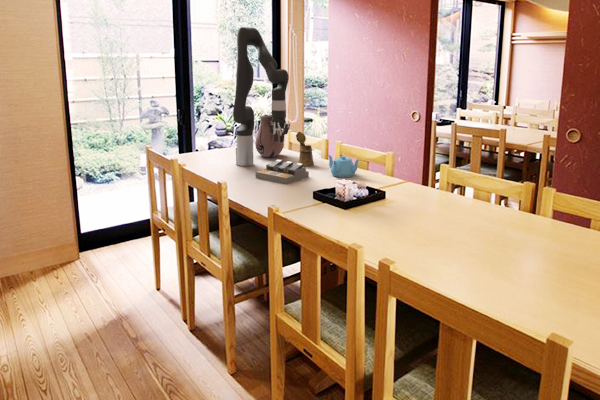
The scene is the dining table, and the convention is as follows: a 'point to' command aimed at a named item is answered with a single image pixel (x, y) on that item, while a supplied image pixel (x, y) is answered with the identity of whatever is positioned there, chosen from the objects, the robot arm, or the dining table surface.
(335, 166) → the teapot
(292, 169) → the rocker
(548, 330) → the dining table surface
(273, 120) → the robot arm
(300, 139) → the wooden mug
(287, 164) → the rocker
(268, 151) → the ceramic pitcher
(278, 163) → the rocker
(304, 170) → the switch unit
